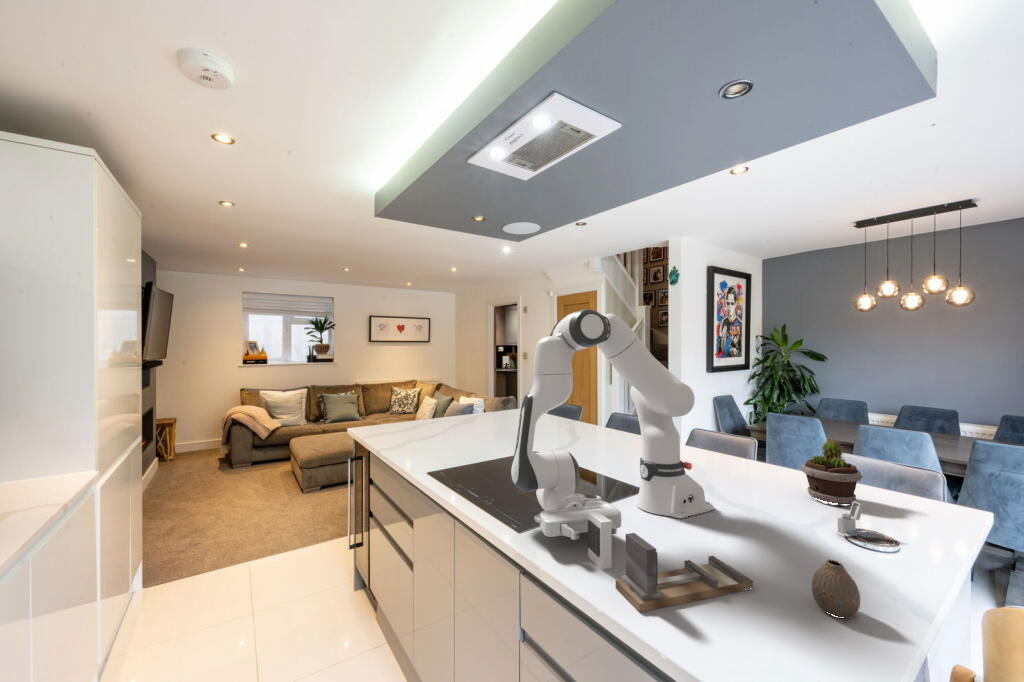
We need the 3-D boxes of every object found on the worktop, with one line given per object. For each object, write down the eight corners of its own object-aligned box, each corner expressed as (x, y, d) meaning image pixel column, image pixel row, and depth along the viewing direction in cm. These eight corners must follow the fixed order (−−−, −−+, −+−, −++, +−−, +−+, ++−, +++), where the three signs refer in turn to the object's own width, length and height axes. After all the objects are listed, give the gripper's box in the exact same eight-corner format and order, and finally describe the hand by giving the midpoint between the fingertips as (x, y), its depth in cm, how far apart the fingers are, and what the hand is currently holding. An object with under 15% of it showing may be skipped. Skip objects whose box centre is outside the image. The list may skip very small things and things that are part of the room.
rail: (721, 568, 89) (721, 519, 89) (753, 588, 81) (752, 534, 81) (615, 588, 81) (615, 534, 82) (639, 612, 74) (638, 552, 74)
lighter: (844, 537, 104) (843, 505, 104) (837, 534, 105) (836, 503, 106) (864, 534, 106) (863, 502, 106) (857, 531, 108) (856, 500, 108)
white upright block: (598, 554, 95) (597, 511, 95) (611, 568, 89) (611, 521, 89) (586, 556, 94) (586, 512, 94) (599, 570, 88) (599, 522, 88)
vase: (802, 601, 77) (801, 554, 77) (836, 599, 78) (835, 552, 78) (834, 625, 70) (833, 573, 70) (871, 623, 71) (870, 572, 71)
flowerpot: (856, 514, 119) (854, 444, 120) (795, 499, 131) (793, 436, 132) (868, 502, 128) (866, 438, 129) (809, 490, 140) (808, 431, 141)
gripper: (531, 502, 103) (552, 524, 90) (604, 495, 109) (634, 514, 96) (531, 528, 103) (552, 554, 90) (604, 519, 109) (634, 541, 96)
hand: (595, 533), depth 93 cm, fingers open, 8 cm apart
